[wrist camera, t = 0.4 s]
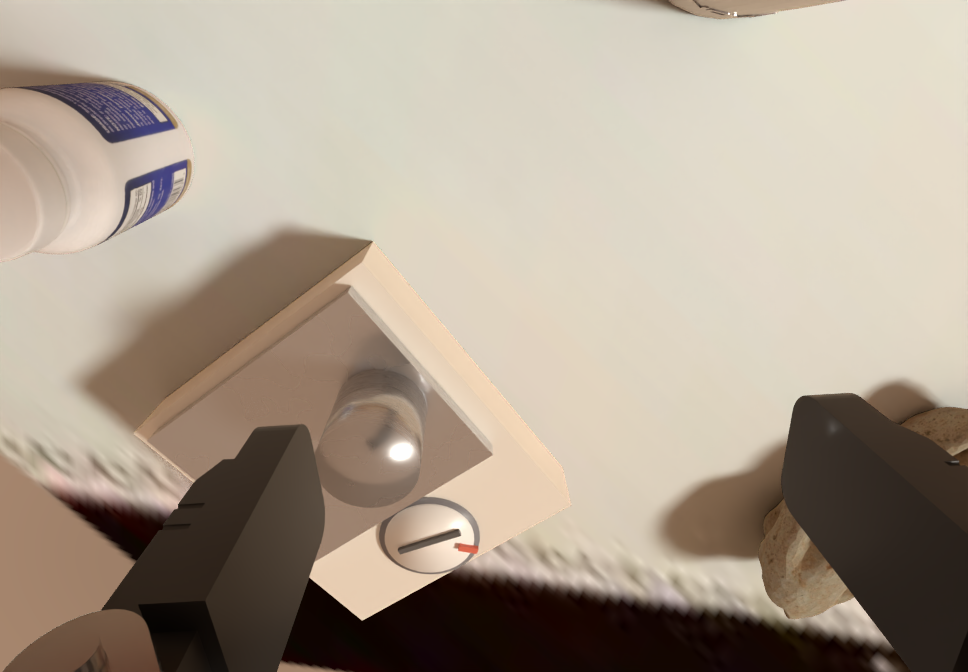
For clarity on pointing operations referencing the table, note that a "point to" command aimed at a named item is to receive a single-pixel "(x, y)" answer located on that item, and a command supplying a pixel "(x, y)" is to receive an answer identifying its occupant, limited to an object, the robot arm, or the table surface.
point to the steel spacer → (373, 440)
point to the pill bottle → (85, 164)
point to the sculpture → (796, 560)
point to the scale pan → (322, 407)
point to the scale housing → (450, 508)
